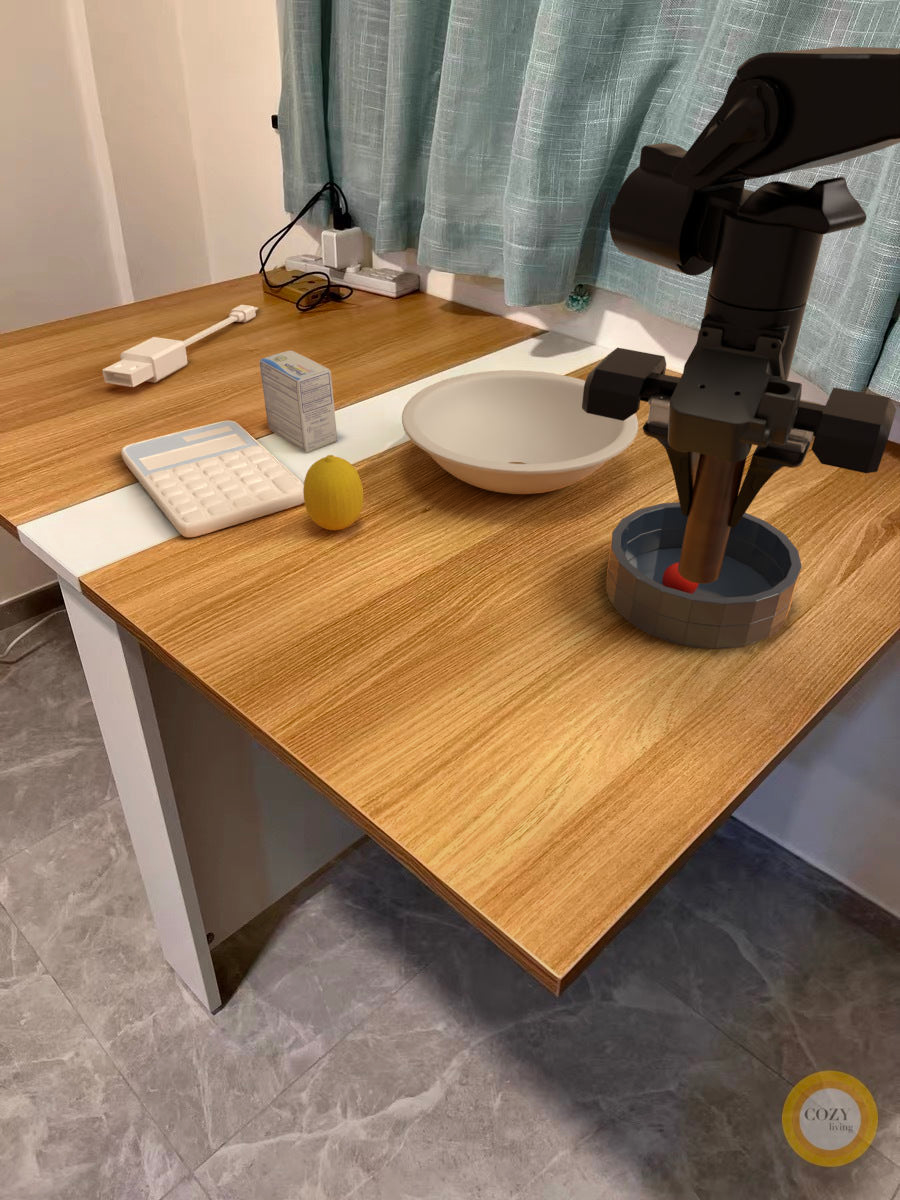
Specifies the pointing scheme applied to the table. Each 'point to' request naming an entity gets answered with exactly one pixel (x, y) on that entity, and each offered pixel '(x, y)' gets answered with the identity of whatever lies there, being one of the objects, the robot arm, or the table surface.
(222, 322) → the charging cable
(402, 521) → the table surface
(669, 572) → the tomato
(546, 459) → the soup bowl
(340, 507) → the lemon
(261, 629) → the table surface
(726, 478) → the brown cylinder
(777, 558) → the bowl
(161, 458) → the calculator
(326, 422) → the medicine box
